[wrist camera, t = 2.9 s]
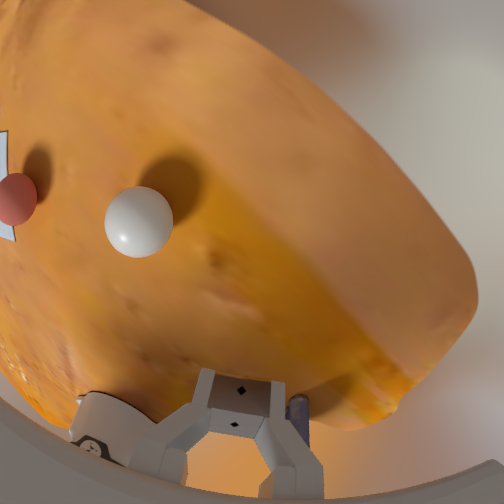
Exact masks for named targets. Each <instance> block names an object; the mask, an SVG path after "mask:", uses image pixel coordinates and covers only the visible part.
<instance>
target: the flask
mask: <svg viewBox="0 0 504 504" xmlns="http://www.w3.org/2000/svg"><path fill="white" fill-rule="evenodd" d="M302 396H303V397H302ZM285 412H286V414H285V420H289V421H290V422H291V423H292V425H293V426H294V428H295V429H296V430H297V432H298V433H299V435H300V436H301V437H302V439H303V440H304V442H305V443H306V444H307V446H308V447H309V448H310V445H309V412H308V398H307V396H304V395H301V396H300V395H295V396H294V397H293V398H291V399H290V401H289V406H288V407H287V408H286V410H285Z"/></svg>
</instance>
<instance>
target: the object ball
mask: <svg viewBox="0 0 504 504" xmlns="http://www.w3.org/2000/svg"><path fill="white" fill-rule="evenodd" d="M36 204H37V191H36V187H35V185H34V183H33V181H32V180H31V179H30V178H29V177H28V176H26V175H24V174H21V173H13V174H10V175H8V176H6V177H5V178H3V179H2V180H1V181H0V221H1V222H3V223H4V224H6V225H9V226H17V225H21V224H23V223H24V222H26V221H27V220H28V219H29V218H30V217H31V215H32V214H33V212H34V210H35V207H36Z"/></svg>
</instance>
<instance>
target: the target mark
mask: <svg viewBox="0 0 504 504" xmlns="http://www.w3.org/2000/svg"><path fill="white" fill-rule="evenodd" d="M7 141H8V132H2V133H0V181H1V180H2V179H3V178H5V177H6V176H8V162H7ZM0 237H3V238H6V239H8V240H11V241H14V242H15V241H16V240H15V235H14V228H13V226H9V225H6V224H4V223H3V222H1V221H0Z"/></svg>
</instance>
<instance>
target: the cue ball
mask: <svg viewBox="0 0 504 504" xmlns="http://www.w3.org/2000/svg"><path fill="white" fill-rule="evenodd" d="M172 228H173V214H172V210H171V208H170V205H169V204H168V202H167V200H166V199H165V198H164V197H163V196H162V195H161V194H160V193H159V192H157V191H156V190H154V189H151V188H148V187H143V186H138V187H131V188H128V189H126V190H123V191H122V192H120V193H119V194H118V195H116V196H115V198H114V199H113V200H112V201H111V203H110V204H109V206H108V208H107V211H106V215H105V231H106V235H107V237H108V239H109V241H110V243H111V244H112V245H113V247H114V248H115V249H116V250H118V251H119V252H120V253H122V254H124V255H126V256H130V257H135V258H141V257H146V256H150V255H152V254H154V253H156V252H157V251H159V250H160V249H161V248H162V247H163V246H164V245H165V244H166V242H167V241H168V239H169V237H170V235H171V232H172Z"/></svg>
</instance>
